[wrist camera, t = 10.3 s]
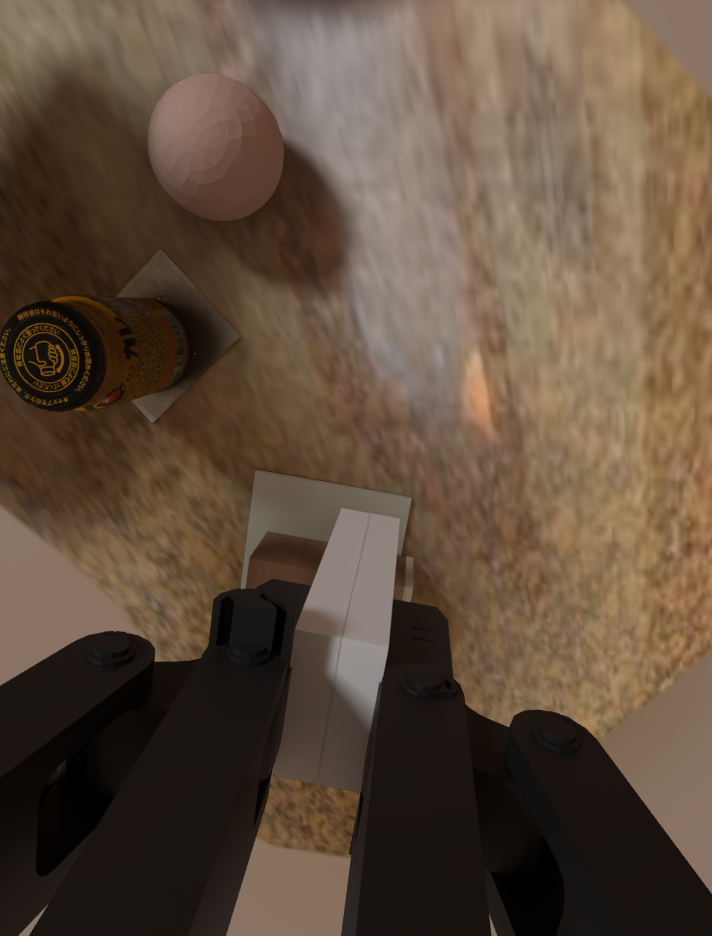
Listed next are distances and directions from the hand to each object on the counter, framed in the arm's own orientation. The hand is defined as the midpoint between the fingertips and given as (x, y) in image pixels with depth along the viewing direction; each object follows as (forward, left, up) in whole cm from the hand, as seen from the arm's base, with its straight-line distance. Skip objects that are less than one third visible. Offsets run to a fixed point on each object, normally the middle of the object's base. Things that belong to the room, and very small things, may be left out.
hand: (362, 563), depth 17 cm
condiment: (-16, +2, -27) cm, 31 cm away
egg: (-12, +13, -27) cm, 32 cm away
